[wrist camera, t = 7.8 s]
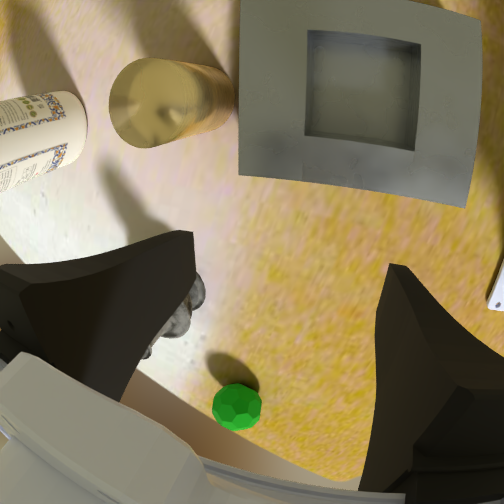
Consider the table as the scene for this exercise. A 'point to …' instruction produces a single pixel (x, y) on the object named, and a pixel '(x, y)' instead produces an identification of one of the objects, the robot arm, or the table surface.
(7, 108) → the bath foam
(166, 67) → the plug
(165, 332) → the grey chess piece
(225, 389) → the polyhedron
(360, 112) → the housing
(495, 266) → the table surface
